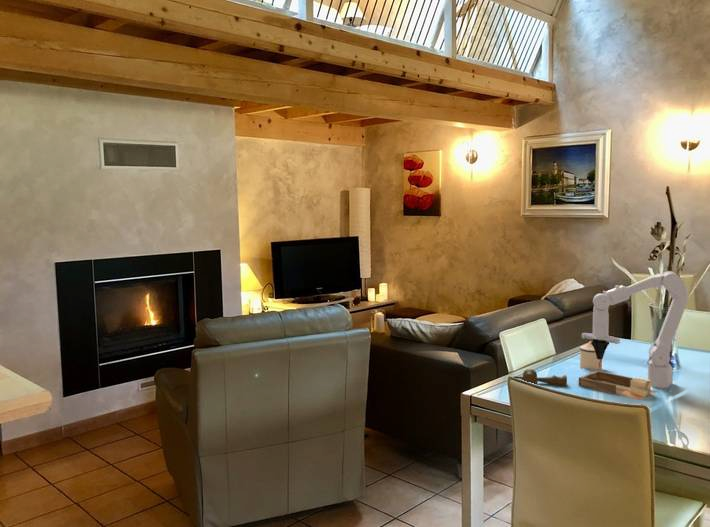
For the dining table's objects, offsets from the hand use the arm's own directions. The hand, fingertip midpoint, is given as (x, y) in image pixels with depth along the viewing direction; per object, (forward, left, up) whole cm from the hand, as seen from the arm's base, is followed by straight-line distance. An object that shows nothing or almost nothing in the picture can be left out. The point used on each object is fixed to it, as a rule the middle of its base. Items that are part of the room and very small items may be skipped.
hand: (599, 359), depth 229 cm
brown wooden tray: (+5, +10, -9) cm, 14 cm away
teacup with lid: (-17, -13, -10) cm, 23 cm away
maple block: (+5, +18, -8) cm, 21 cm away
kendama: (+20, -13, -10) cm, 26 cm away
